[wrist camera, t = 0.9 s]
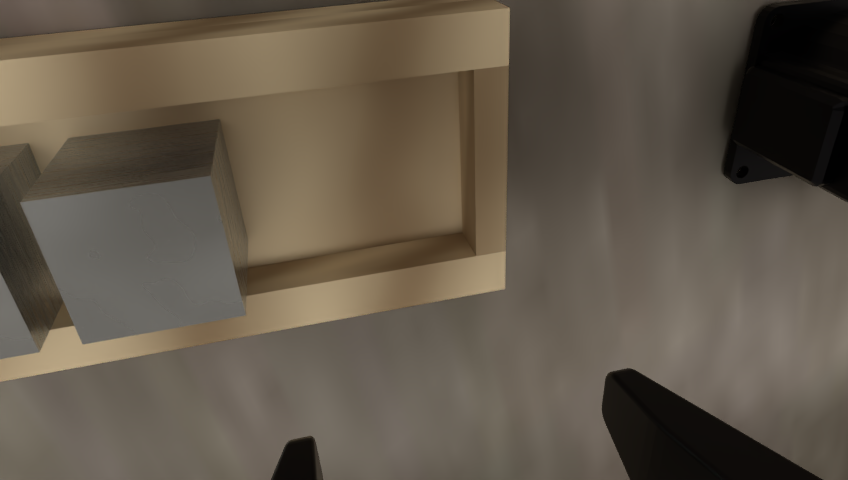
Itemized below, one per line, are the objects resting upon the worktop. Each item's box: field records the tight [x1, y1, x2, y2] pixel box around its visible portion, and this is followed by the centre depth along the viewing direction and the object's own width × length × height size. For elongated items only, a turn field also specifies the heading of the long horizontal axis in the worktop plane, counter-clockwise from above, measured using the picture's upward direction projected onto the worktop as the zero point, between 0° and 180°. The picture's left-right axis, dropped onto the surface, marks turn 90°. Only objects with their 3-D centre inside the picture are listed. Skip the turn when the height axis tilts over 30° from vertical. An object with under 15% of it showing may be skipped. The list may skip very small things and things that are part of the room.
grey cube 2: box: [20, 119, 248, 344], centre depth 16 cm, size 4×4×4 cm
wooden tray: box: [0, 0, 510, 382], centre depth 18 cm, size 18×9×3 cm, turn 93°
